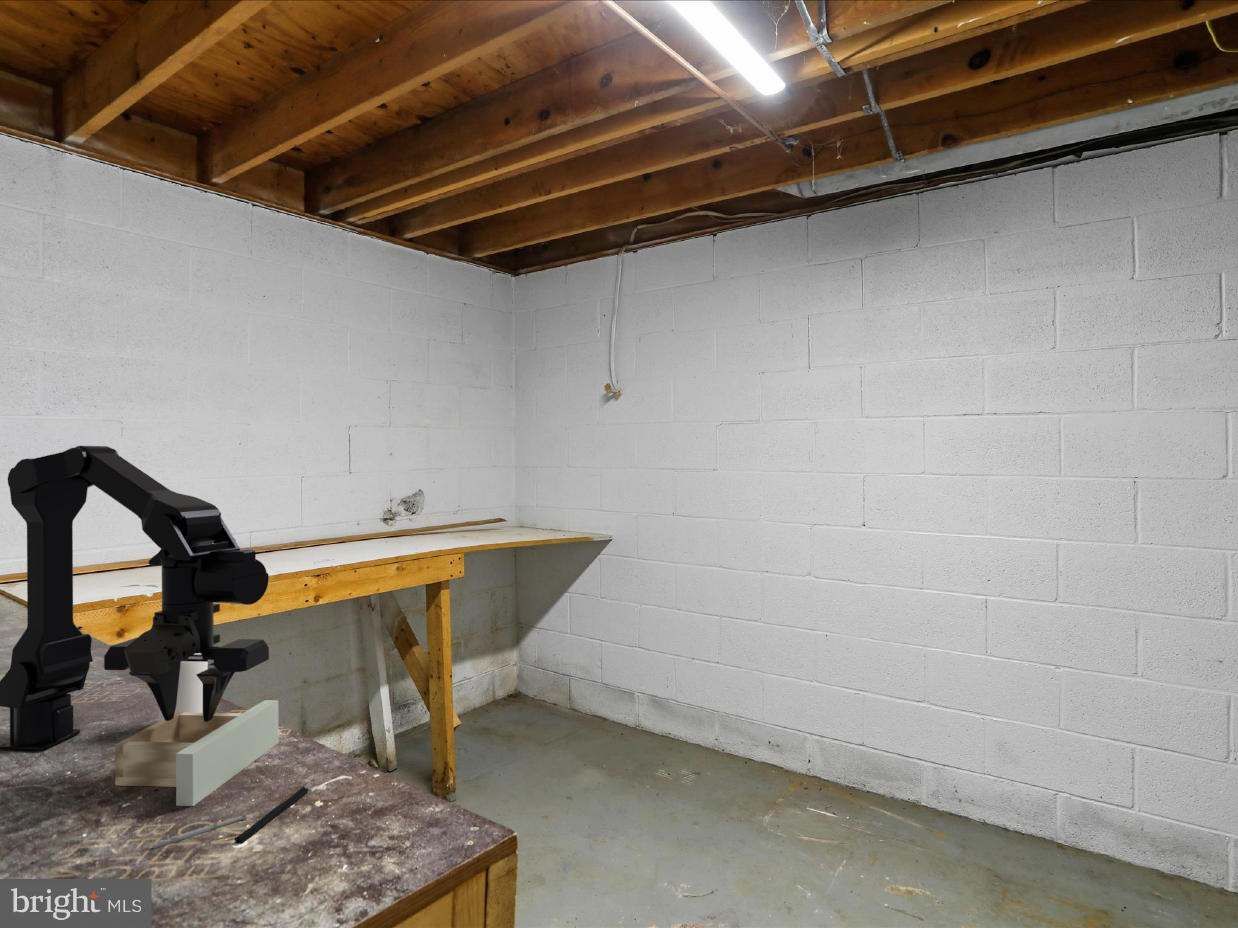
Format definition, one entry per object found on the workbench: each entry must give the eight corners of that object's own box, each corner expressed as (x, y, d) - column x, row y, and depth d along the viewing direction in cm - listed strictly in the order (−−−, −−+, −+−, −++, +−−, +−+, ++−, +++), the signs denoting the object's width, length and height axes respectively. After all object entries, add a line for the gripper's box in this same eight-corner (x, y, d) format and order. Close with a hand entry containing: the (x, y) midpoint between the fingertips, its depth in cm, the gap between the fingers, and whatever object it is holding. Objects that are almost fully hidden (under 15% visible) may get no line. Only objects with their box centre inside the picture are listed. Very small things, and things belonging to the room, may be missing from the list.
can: (185, 737, 100) (184, 653, 100) (147, 733, 101) (147, 651, 101) (219, 720, 107) (219, 642, 106) (183, 717, 108) (183, 640, 108)
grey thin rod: (246, 822, 77) (246, 814, 77) (154, 853, 71) (154, 843, 71) (243, 819, 78) (244, 810, 78) (152, 848, 72) (152, 839, 72)
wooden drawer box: (115, 785, 85) (115, 744, 85) (177, 748, 96) (177, 712, 96) (201, 787, 85) (201, 746, 85) (254, 749, 96) (254, 713, 96)
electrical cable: (305, 791, 84) (305, 782, 84) (313, 791, 84) (312, 783, 84) (234, 845, 72) (233, 835, 72) (242, 846, 72) (242, 836, 72)
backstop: (176, 805, 80) (176, 753, 80) (264, 742, 98) (264, 699, 98) (193, 805, 80) (192, 753, 80) (278, 742, 98) (278, 700, 98)
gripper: (66, 613, 83) (67, 743, 83) (218, 614, 82) (218, 747, 82) (136, 595, 94) (137, 710, 94) (270, 596, 93) (271, 713, 93)
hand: (188, 720), depth 90 cm, fingers open, 5 cm apart
